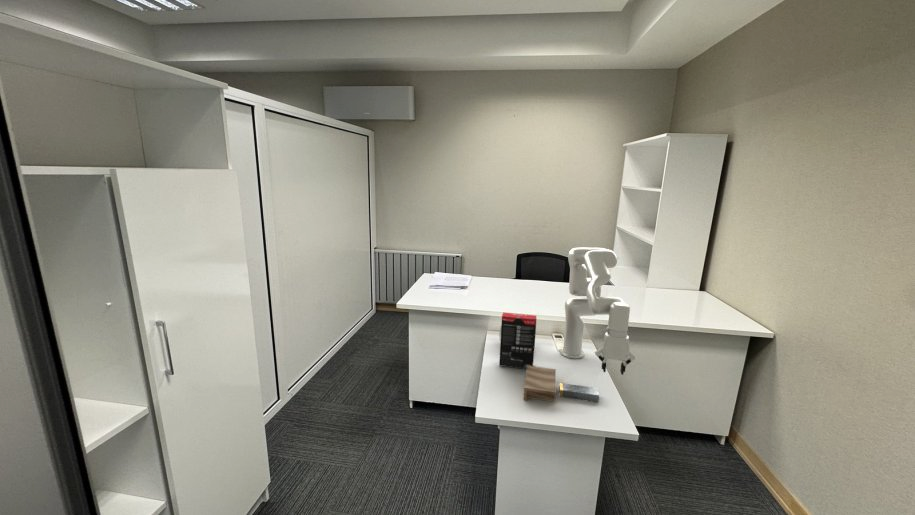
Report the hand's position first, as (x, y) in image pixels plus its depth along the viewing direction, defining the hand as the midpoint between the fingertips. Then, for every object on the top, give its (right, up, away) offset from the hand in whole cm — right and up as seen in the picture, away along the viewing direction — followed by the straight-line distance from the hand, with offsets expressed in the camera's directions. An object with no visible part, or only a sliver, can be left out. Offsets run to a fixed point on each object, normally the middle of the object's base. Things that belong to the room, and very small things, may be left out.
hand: (612, 371), depth 158 cm
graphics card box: (-36, -7, +32) cm, 49 cm away
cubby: (-29, -11, +10) cm, 33 cm away
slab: (-13, -13, +6) cm, 19 cm away
